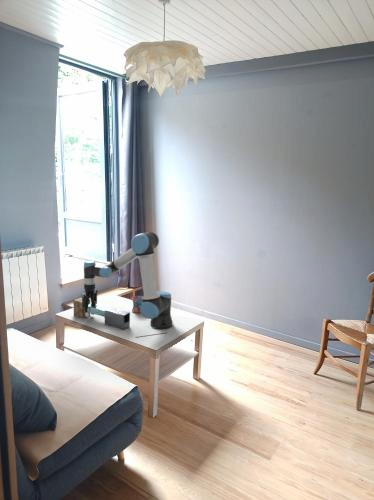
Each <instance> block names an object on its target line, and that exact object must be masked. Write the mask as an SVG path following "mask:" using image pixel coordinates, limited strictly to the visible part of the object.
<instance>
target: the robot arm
mask: <svg viewBox="0 0 374 500" xmlns="http://www.w3.org/2000/svg"><path fill="white" fill-rule="evenodd" d="M159 243H160V238H159V236H158V235H157V234H156V233H155V232H152V231H146V232H141V233H138V234H136V235H134V236H133V237H132V239H131V241H130V249H128V250H126V251H125V252H124V253H122V254H121V255H120V256H118V257H117V258H115V259H114V260H111V262H108V263H106V264H102V265H97V264H96V262H95V260H86V261H84V263H83V283H84V284H83V289H84V292H83V293H81V297H82V307H83V308H85V316H86V317H87V318H89V317H90V315H93V316H94V315H95V314H93V313H90V315H89V308H88V304H89V299H90V304H93V305H97V304H98V293H99V291H98V289H96V277H99V278H103V279H107V278H110V277H111V276H112V274H115V273H117V272H119V271H121V269H122V268H124V267H126V266H127V265H128V264H129V263H132V262H133V261H134V260H135V259H138V261H139V270H140V275H141V276H140V277H141V284H142V289H143V295H142V301H143V303H142V305H141V307H140V310H141V312H140V313H141V315H142V316H143V317H144V318H145V319H148V320H149V319H150V327H151V328H154V329H158V330H166V329H167V330H168V329H170V328H172V327H173V325H174V324H173V320H172V316H171V315H172V314H171V310H172V309H171V307H172V294H171V293H170V292H169V291H168V292H167V291H159V290H158V288H157V282H156V281H157V280H156V274H155V266H154V260H153V256H154V254H155V251H154V250H155V249H156V248H157V247H158V246H159ZM86 317H85V318H86Z"/></svg>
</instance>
